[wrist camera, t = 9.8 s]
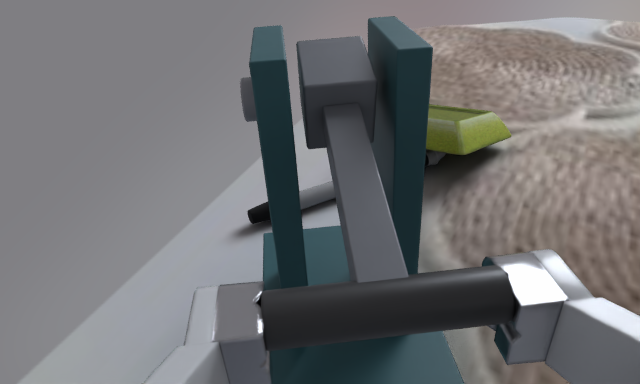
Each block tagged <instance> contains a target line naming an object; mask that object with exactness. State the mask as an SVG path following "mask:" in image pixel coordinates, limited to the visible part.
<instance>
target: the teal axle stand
mask: <svg viewBox="0 0 640 384" xmlns="http://www.w3.org/2000/svg"><path fill="white" fill-rule="evenodd" d="M432 54H433V47H432V46H431V45H430V44H428V43H427V42H426V41H425V40H423V39H422V38H421V37H420V36H418V35H417V34H416V33H415V32H414V31H412V30H411V29H410V28H409V27H407V26H406V25H405V24H404V23H403V22H401V21H400V20H399V19H398V18H396V17H395V16H391V17H378V18H369V19H368V56H369V59H370V61H371V64H372V67H373V70H374V73H375V75H376V78H377V81H378V83H377V98H376V114H375V129H374V141H373V143H370V144H371V147H372V151H373V154H374V158H375V161H376V164H377V168H378V171H379V175H380V178H381V182H382V185H383V189H384V192H385V196H386V199H387V203H388V206H389V210H390V213H391V216H392V220H393V223H394V227H395V230H396V234H397V237H398V241H399V244H400V248H401V251H402V255H403V258H404V261H405V265H406V268H407V272H408V275H410V274H418V258H419V243H420V229H421V214H422V200H423V185H424V171H425V156H426V142H427V127H428V112H429V98H430V83H431V69H432ZM249 67H250V74H251V77H249V78H242V79H241V82H240V88H241V98H242V106H243V113H244V117H245V120H246V121H247V122H249V121H257V124H258V131H259V138H260V145H261V153H262V160H263V167H264V174H265V181H266V188H267V196H268V203H269V210H270V217H271V224H272V231H273V233H265V234H264V244H263V281H264V283H265V287H266V290H274V289H283V288H293V287H302V286H311V285H320V284H329V283H338V282H347V281H351V279H350V273H349V268H348V262H347V257H346V251H345V246H344V240H343V235H342V230H341V226H331V227H322V228H312V229H303V226H302V216H301V206H300V195H299V185H298V175H297V164H296V154H295V144H294V133H293V124H292V113H291V103H290V92H289V82H288V72H287V62H286V53H285V45H284V37H283V28H282V26H267V27H256V28H254V31H253V38H252V46H251V54H250V62H249ZM271 360H272V366H273V384H464V382H463V380H462V377H461V375H460V372H459V370H458V368H457V365H456V363H455V360H454V358H453V356H452V353H451V351H450V348H449V346H448V343H447V341H446V339H445V336H444V334H443V331H436V332H428V333H419V334H411V335H402V336H394V337H385V338H377V339H368V340H360V341H351V342H343V343H334V344H326V345H317V346H309V347H300V348H292V349H283V350H275V351H271Z"/></svg>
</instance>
